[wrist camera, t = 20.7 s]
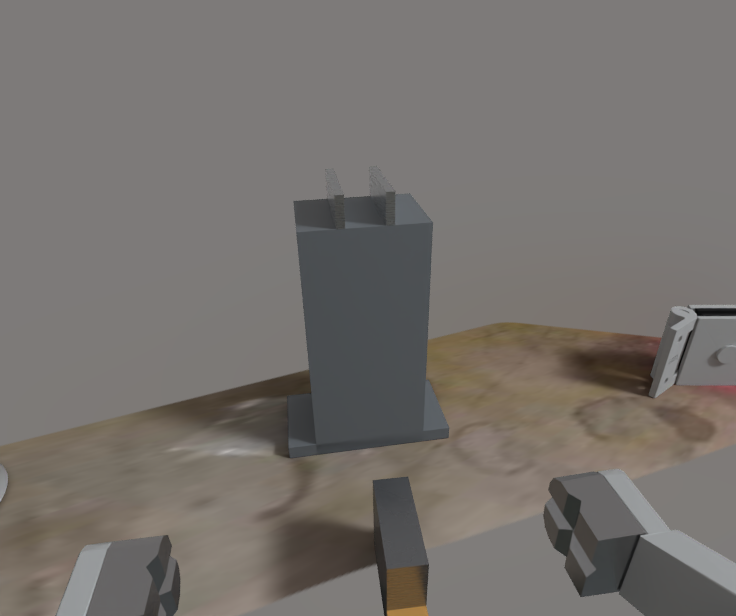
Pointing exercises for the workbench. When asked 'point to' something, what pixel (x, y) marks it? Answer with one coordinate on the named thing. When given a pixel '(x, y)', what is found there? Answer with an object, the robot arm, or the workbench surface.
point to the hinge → (696, 348)
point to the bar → (399, 549)
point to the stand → (364, 322)
